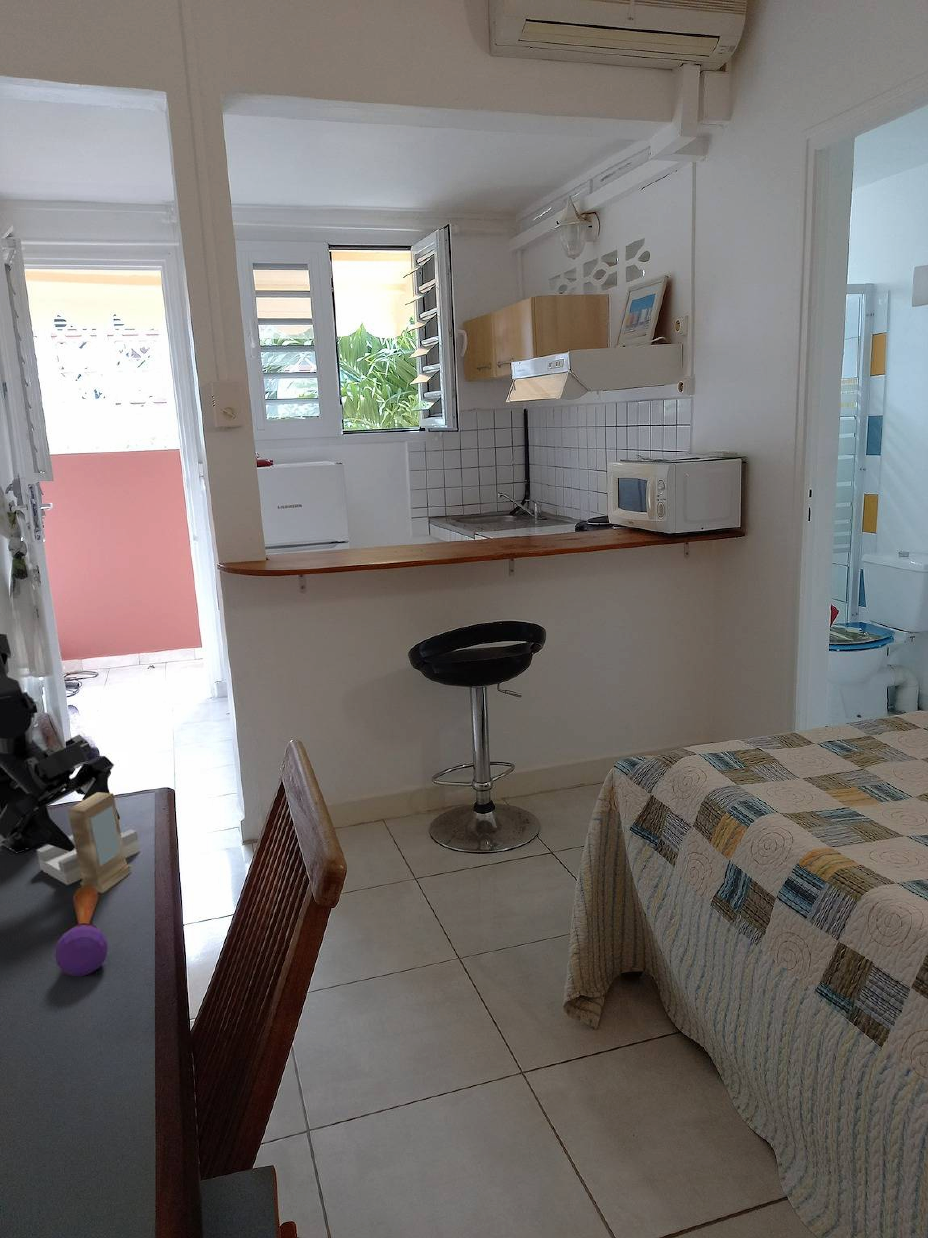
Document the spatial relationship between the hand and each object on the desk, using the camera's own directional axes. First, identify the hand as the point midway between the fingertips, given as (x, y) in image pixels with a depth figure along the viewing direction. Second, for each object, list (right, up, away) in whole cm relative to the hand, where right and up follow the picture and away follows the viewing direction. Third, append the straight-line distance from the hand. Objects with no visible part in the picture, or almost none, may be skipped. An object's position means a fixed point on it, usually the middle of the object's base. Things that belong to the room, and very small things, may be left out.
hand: (96, 834), depth 129 cm
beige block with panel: (+1, -8, +2) cm, 8 cm away
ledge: (-5, -6, +9) cm, 12 cm away
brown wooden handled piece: (+5, -11, -14) cm, 18 cm away
